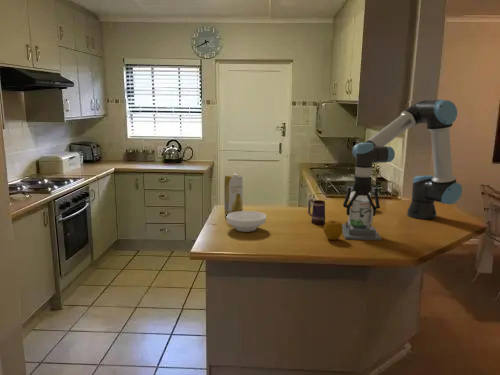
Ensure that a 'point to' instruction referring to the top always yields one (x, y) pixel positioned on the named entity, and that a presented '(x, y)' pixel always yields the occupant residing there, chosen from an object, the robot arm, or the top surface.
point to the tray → (360, 232)
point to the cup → (358, 196)
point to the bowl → (246, 220)
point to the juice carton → (233, 193)
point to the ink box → (360, 212)
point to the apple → (333, 230)
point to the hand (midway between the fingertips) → (360, 222)
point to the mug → (317, 211)
